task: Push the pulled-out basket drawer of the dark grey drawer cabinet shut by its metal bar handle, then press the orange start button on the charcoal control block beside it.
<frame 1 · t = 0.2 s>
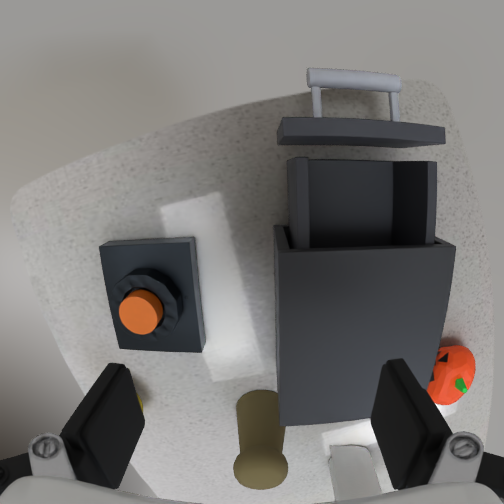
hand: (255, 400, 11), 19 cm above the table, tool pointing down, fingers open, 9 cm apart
control block: (156, 293, 31), on the table
pepper mill: (261, 407, 34), on the table
basket drawer: (356, 187, 23), point 5 cm above the table, slide at 7.0 cm
dark grey drawer cabinet: (339, 297, 30), on the table
paper towel roll: (349, 454, 36), on the table
start button: (141, 311, 26), point 4 cm above the table, slide at 0.1 cm
pumpkin: (439, 362, 32), on the table
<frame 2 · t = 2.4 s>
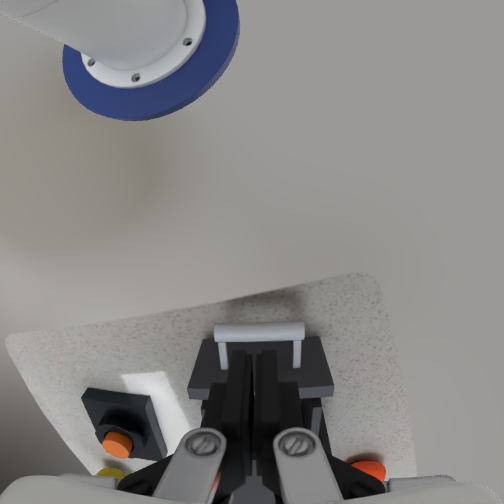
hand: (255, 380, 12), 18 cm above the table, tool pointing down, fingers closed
control block: (128, 422, 36), on the table
lemon: (118, 467, 40), on the table
basket drawer: (262, 399, 28), point 5 cm above the table, slide at 7.0 cm
dark grey drawer cabinet: (264, 435, 35), on the table
start button: (117, 444, 31), point 4 cm above the table, slide at 0.1 cm
pumpkin: (358, 466, 38), on the table
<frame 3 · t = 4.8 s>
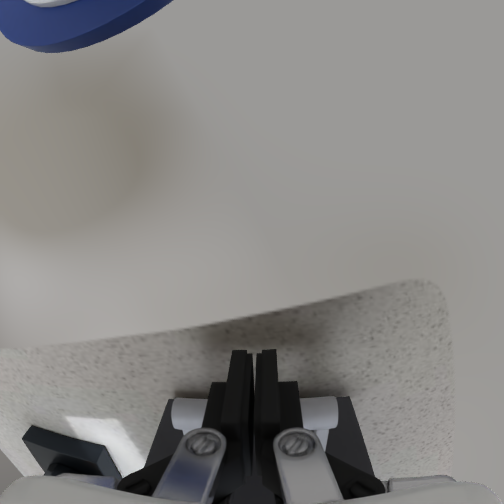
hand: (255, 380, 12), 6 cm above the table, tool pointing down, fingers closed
control block: (85, 469, 23), on the table
basket drawer: (259, 489, 16), point 5 cm above the table, slide at 5.8 cm, touching gripper
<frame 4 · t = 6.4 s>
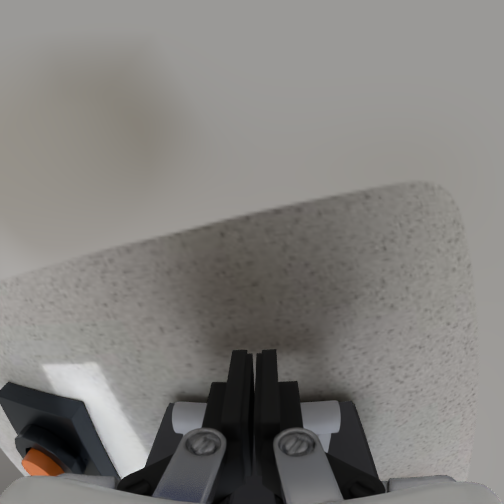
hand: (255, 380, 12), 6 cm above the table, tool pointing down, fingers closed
control block: (63, 436, 21), on the table
basket drawer: (260, 494, 15), point 5 cm above the table, slide at 0.0 cm, touching dark grey drawer cabinet, gripper
start button: (42, 468, 17), point 4 cm above the table, slide at 0.1 cm
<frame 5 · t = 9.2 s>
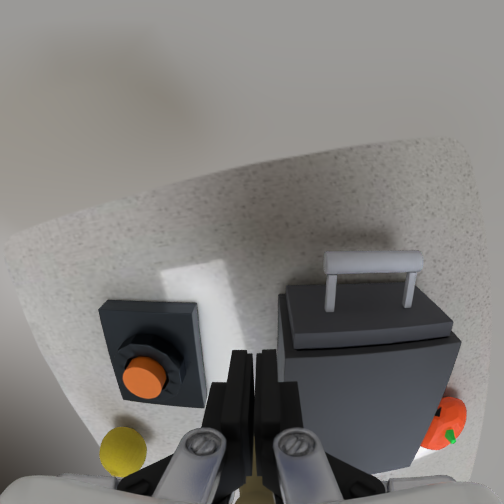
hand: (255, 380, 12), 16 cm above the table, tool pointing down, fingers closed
control block: (158, 350, 30), on the table
pepper mill: (260, 448, 34), on the table
lemon: (133, 428, 34), on the table
basket drawer: (358, 354, 24), point 5 cm above the table, slide at 0.0 cm
dark grey drawer cabinet: (340, 359, 29), on the table
start button: (144, 377, 25), point 4 cm above the table, slide at 0.1 cm
pumpkin: (432, 409, 32), on the table
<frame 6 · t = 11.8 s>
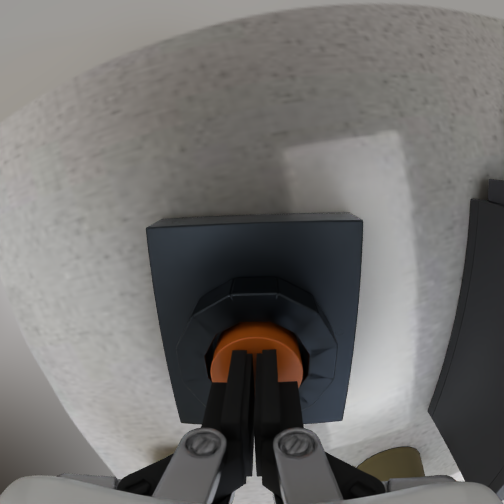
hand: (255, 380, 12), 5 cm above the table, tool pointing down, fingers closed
control block: (258, 321, 16), on the table
pepper mill: (385, 467, 20), on the table
start button: (257, 363, 13), point 4 cm above the table, slide at -0.6 cm, touching gripper
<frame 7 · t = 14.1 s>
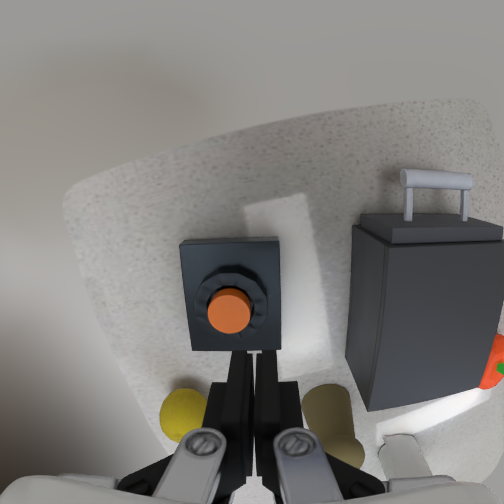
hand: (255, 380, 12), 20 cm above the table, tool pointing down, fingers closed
control block: (234, 292, 32), on the table
pepper mill: (325, 401, 35), on the table
lemon: (192, 392, 35), on the table
basket drawer: (428, 270, 26), point 5 cm above the table, slide at 0.0 cm
dark grey drawer cabinet: (404, 292, 31), on the table
paper towel roll: (396, 444, 37), on the table
start button: (229, 310, 27), point 4 cm above the table, slide at 0.1 cm
pumpkin: (479, 351, 33), on the table
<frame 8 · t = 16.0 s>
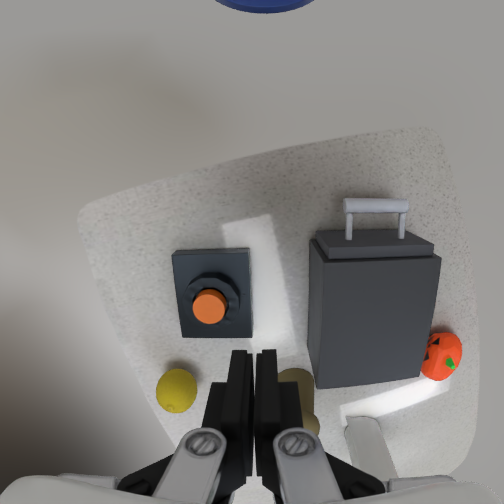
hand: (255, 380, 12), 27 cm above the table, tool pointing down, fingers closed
control block: (215, 291, 40), on the table
pepper mill: (293, 383, 43), on the table
lemon: (183, 372, 44), on the table
basket drawer: (370, 277, 34), point 5 cm above the table, slide at 0.0 cm
dark grey drawer cabinet: (356, 293, 39), on the table
paper towel roll: (361, 425, 46), on the table
start button: (209, 306, 36), point 4 cm above the table, slide at 0.1 cm
pumpkin: (433, 347, 41), on the table
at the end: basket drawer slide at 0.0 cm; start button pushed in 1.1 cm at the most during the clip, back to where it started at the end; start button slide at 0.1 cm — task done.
